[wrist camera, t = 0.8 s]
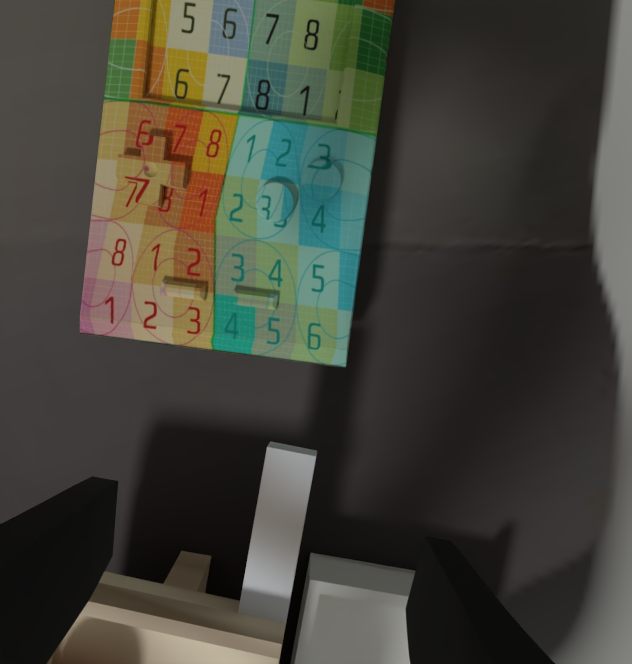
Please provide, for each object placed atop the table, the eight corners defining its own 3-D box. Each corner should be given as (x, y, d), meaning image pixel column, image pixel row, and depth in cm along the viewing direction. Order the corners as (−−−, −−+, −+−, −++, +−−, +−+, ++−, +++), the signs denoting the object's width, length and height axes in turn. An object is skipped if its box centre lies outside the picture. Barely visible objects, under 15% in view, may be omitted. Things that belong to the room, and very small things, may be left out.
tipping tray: (253, 802, 22) (237, 886, 19) (46, 752, 22) (-4, 825, 19) (318, 442, 21) (313, 466, 18) (102, 400, 22) (59, 415, 18)
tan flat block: (186, 699, 25) (162, 774, 21) (157, 694, 25) (127, 768, 21) (211, 556, 25) (191, 604, 21) (181, 550, 25) (155, 598, 21)
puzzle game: (68, 334, 20) (120, -167, 19) (115, 329, 25) (158, -73, 23) (347, 371, 20) (413, -125, 19) (340, 358, 25) (394, -40, 24)
